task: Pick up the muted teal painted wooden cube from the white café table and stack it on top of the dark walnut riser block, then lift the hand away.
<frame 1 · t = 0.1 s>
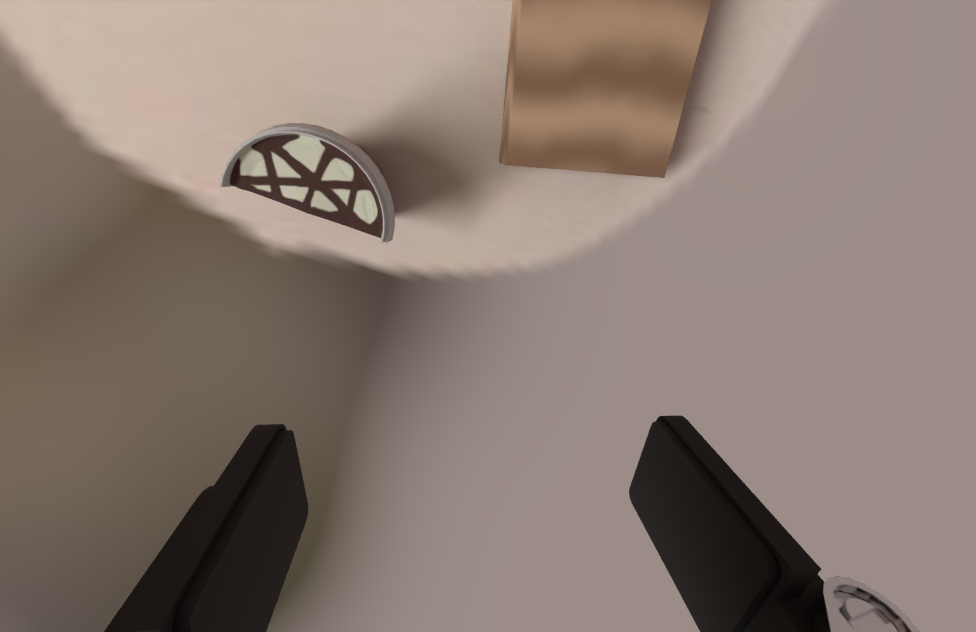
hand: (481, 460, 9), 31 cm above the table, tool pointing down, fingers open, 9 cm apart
food container: (348, 167, 34), on the table
walnut riser: (586, 82, 33), on the table
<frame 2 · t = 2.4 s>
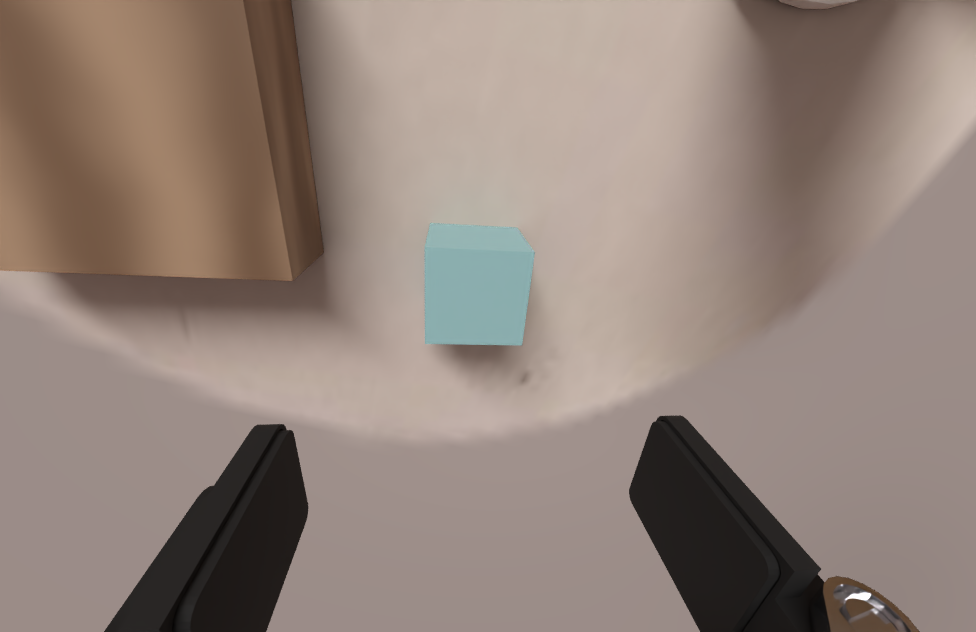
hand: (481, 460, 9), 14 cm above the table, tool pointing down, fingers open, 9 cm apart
walnut riser: (128, 83, 16), on the table
teal cube: (471, 266, 22), on the table
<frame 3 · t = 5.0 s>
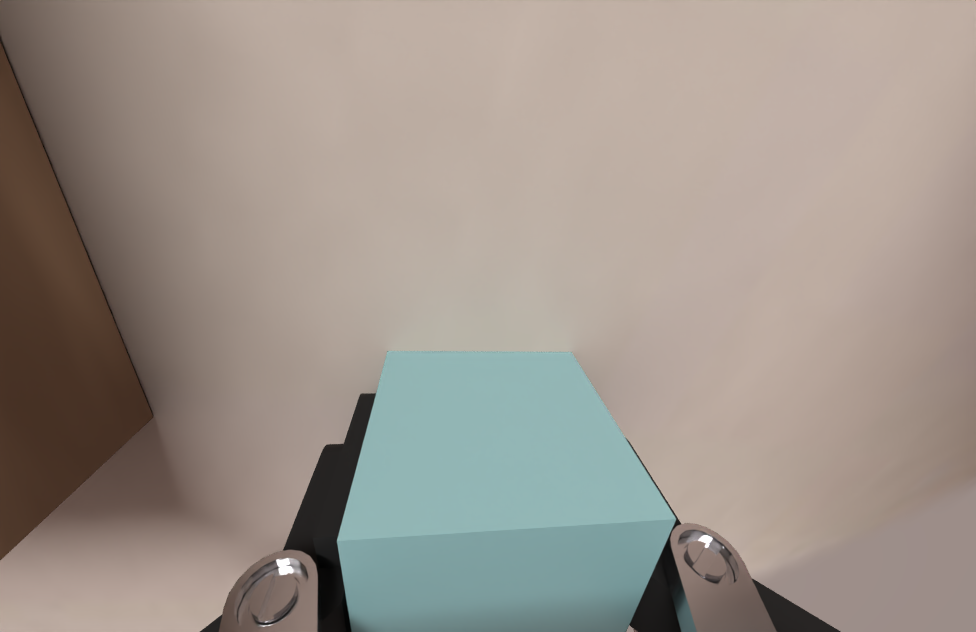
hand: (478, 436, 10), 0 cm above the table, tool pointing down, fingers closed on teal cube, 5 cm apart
teal cube: (476, 423, 11), on the table, touching gripper
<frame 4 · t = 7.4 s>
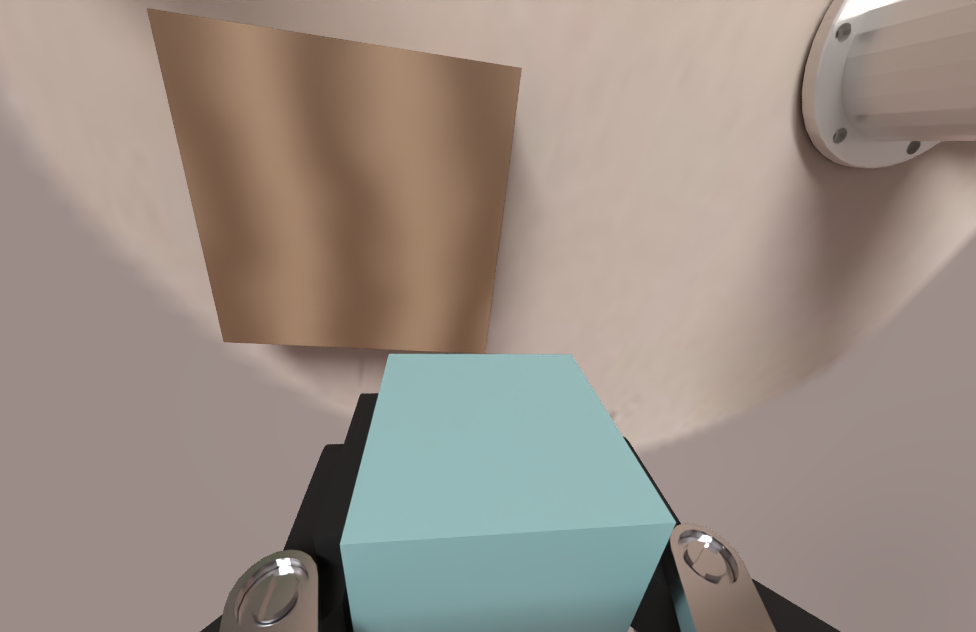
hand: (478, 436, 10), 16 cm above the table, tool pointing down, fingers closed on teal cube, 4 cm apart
walnut riser: (372, 207, 22), on the table
teal cube: (477, 425, 11), point 15 cm above the table, touching gripper
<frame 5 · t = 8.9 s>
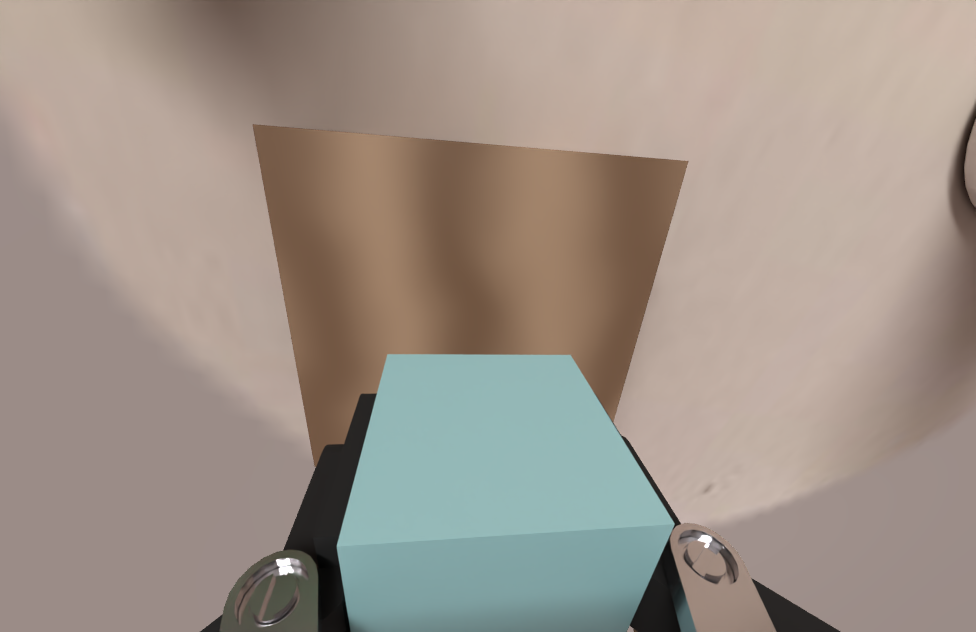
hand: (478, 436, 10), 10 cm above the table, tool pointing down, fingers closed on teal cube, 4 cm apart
walnut riser: (468, 296, 19), on the table
teal cube: (476, 425, 11), point 10 cm above the table, touching gripper
when the fingers open (6 cm above the table, at t = 10.0 s): teal cube drops 1 cm, resting on walnut riser.
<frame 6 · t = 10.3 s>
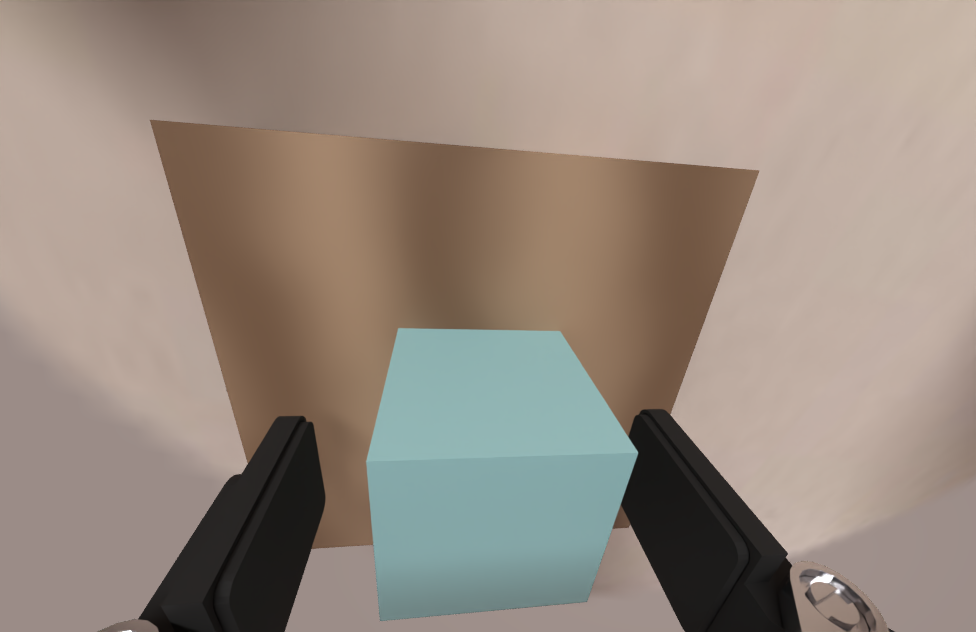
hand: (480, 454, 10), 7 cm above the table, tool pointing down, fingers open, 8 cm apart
walnut riser: (465, 332, 16), on the table
teal cube: (476, 395, 12), point 4 cm above the table, touching walnut riser
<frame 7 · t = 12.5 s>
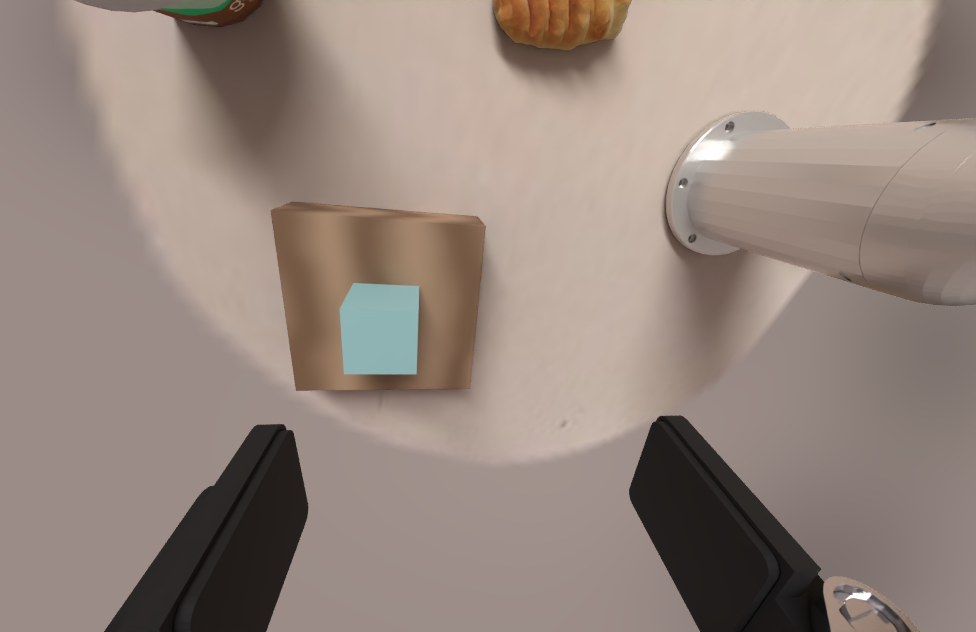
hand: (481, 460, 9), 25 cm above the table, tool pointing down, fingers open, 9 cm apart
pastry: (562, 3, 26), on the table
walnut riser: (390, 293, 33), on the table
teal cube: (387, 313, 29), point 4 cm above the table, touching walnut riser
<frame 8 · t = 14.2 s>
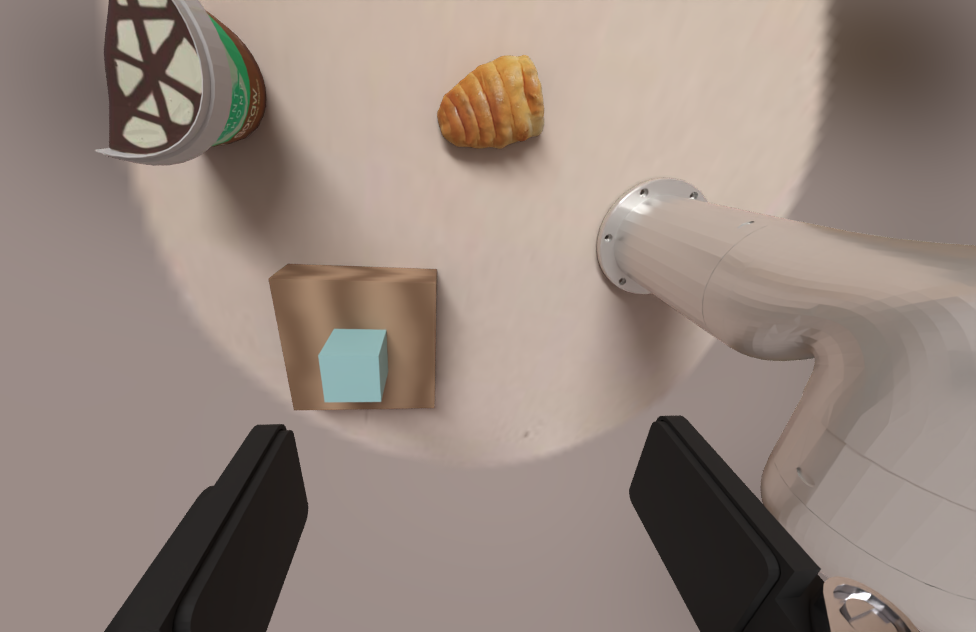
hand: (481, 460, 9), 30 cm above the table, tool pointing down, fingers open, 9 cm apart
food container: (242, 97, 30), on the table
pastry: (495, 110, 33), on the table
walnut riser: (369, 330, 40), on the table
teal cube: (362, 351, 36), point 4 cm above the table, touching walnut riser
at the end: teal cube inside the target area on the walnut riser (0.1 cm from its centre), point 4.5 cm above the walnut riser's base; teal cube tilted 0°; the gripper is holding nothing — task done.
